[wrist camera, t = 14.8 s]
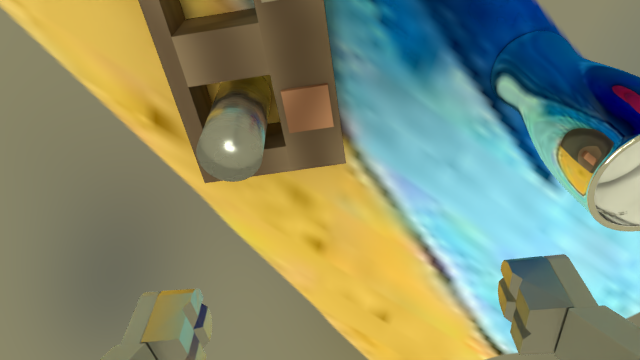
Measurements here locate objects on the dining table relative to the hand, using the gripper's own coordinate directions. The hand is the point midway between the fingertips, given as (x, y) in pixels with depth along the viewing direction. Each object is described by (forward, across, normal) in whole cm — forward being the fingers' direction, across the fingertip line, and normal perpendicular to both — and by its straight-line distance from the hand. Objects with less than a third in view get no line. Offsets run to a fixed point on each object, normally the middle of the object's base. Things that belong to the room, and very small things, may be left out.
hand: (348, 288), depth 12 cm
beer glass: (+25, -15, +6) cm, 29 cm away
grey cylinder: (+24, +7, +5) cm, 25 cm away
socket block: (+24, +6, 0) cm, 25 cm away
